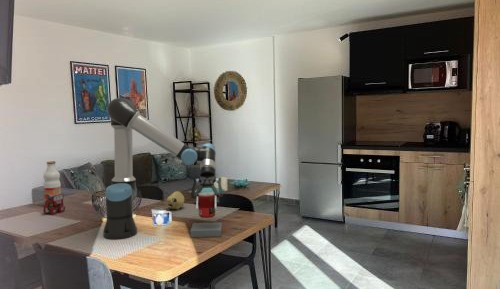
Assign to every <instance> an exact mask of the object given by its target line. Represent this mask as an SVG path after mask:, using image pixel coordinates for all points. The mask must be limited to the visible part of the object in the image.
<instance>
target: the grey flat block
mask: <svg viewBox="0 0 500 289" xmlns="http://www.w3.org/2000/svg"><path fill="white" fill-rule="evenodd" d="M222 228H223V226H222V222H193V223H192V226H191V228H190V238H207V237H209V238H210V237H211V238H212V237H214V238H215V237H216V238H217V237H222Z"/></svg>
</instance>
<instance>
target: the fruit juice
mask: <svg viewBox="0 0 500 289" xmlns="http://www.w3.org/2000/svg"><path fill="white" fill-rule="evenodd" d="M56 163H57V162H56V161H47V162H46V166H47V167H46V170H45V172H44V173H43V180H44V182H43V196H44V198H43V199H44V203H45V202H46V200H48V197H49V196H51V197H52V196H55V195H59V194H62V185H61V181H60V178H61V174H60V172H59V171H58V170H57V167H56Z"/></svg>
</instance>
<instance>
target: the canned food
mask: <svg viewBox="0 0 500 289" xmlns="http://www.w3.org/2000/svg"><path fill="white" fill-rule="evenodd" d="M215 196H216V195H215V193H214V191H201V192H200V193H198V216H199V217H200V218H202V219H210V218H214V217H215V216H216V211H215Z"/></svg>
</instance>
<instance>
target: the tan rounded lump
mask: <svg viewBox="0 0 500 289" xmlns="http://www.w3.org/2000/svg"><path fill="white" fill-rule="evenodd" d="M164 202H165V204H167V206H168V207H169V209H170V210H172V209H173V210H177V211H178V210H180V208H181V207H184V204H185V196H184V195H183V193H181V191H179V190H178V191H177V190H176V191H174V192H172V193H171V194H170V195H169V196H167V197H165V199H164Z"/></svg>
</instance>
